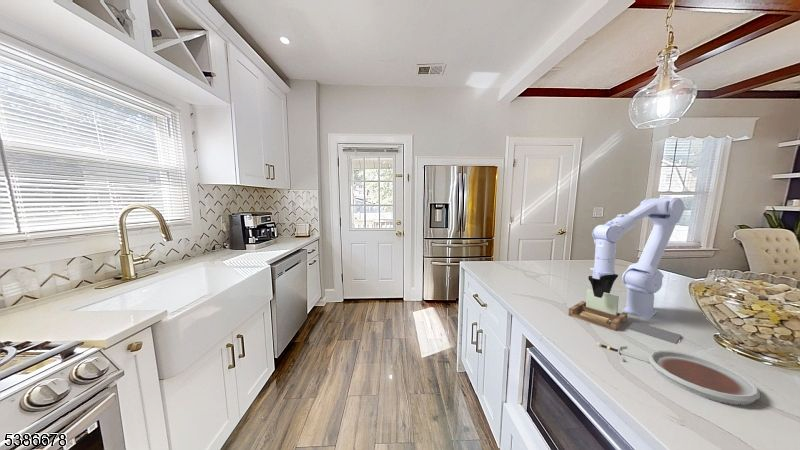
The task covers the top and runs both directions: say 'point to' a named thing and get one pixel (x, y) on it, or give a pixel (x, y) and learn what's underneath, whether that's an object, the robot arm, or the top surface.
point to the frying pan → (699, 376)
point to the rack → (615, 319)
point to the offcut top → (595, 317)
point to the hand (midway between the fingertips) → (602, 294)
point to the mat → (655, 332)
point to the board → (602, 302)
